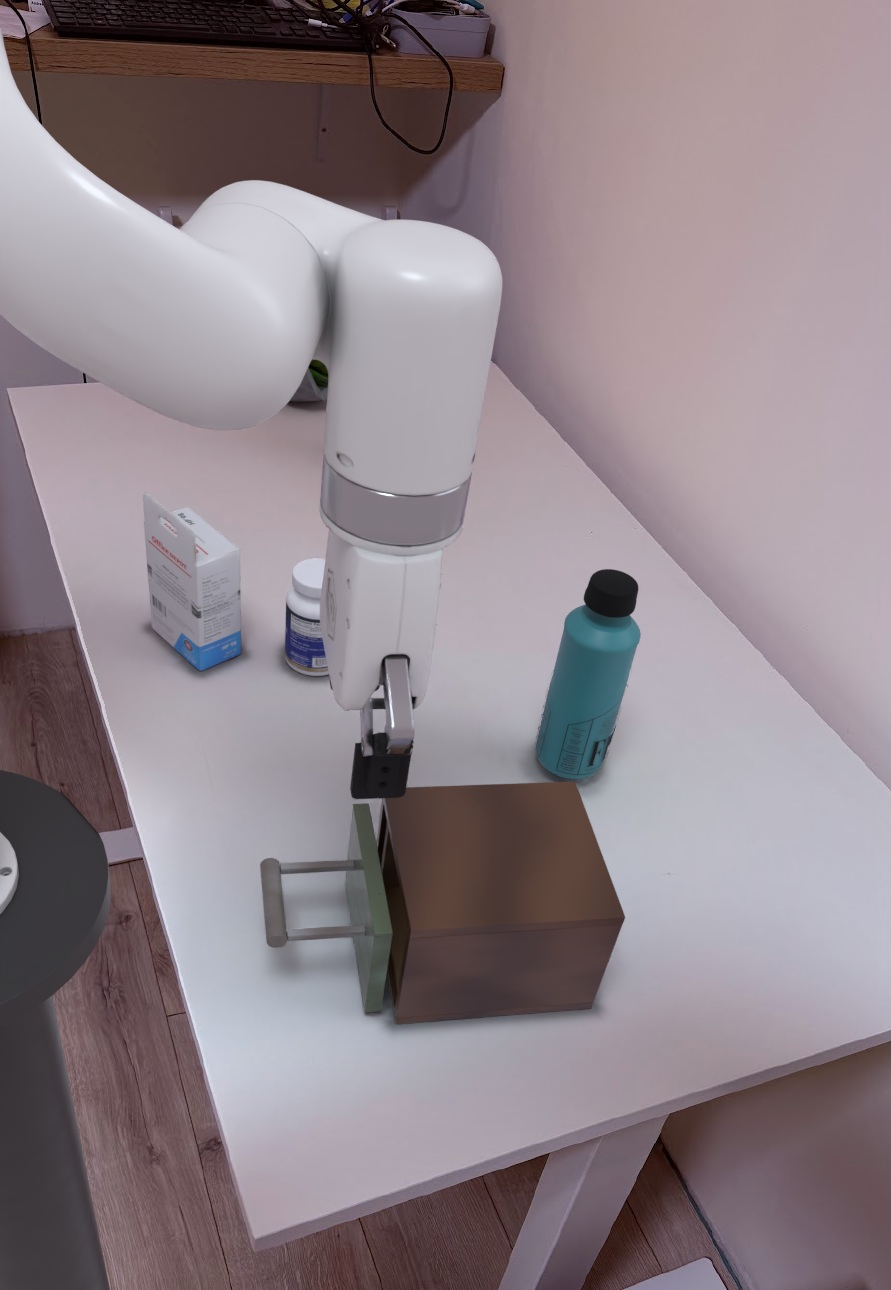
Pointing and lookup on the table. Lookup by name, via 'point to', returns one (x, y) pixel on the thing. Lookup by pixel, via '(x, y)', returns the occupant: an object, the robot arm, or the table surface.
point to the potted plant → (313, 383)
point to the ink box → (192, 584)
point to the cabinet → (498, 901)
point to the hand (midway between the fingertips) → (365, 739)
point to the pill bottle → (305, 619)
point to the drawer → (351, 906)
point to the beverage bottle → (589, 677)
